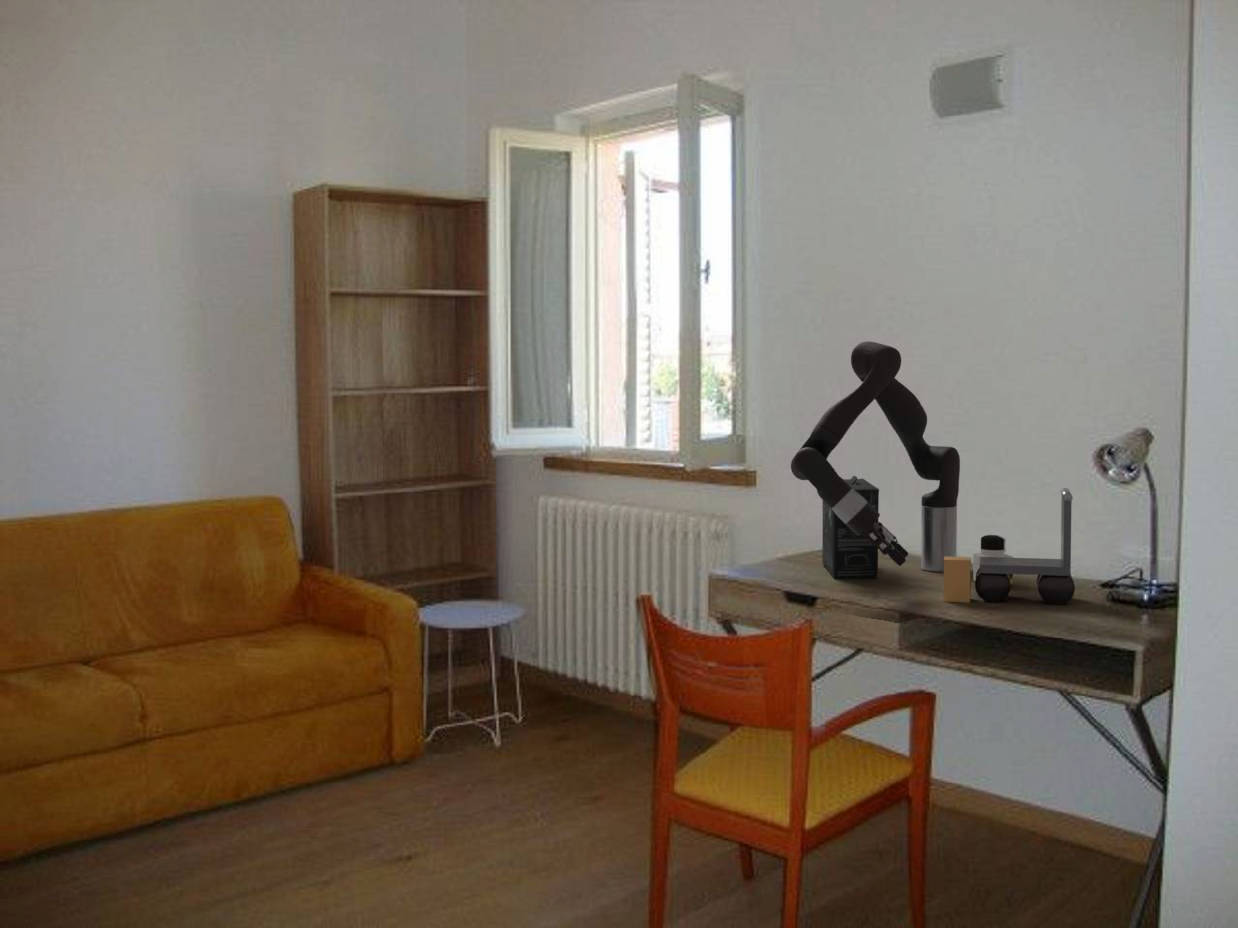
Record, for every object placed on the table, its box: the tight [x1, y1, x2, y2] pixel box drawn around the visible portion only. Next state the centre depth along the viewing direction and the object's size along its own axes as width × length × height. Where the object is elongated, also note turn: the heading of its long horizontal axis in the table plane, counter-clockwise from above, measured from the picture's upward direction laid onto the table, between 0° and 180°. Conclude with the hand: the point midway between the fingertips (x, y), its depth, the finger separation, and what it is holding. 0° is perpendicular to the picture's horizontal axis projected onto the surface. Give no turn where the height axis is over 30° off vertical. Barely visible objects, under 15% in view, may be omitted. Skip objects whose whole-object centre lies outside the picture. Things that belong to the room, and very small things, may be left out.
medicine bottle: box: [972, 534, 1014, 585], centre depth 311 cm, size 7×7×12 cm
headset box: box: [821, 475, 880, 580], centre depth 330 cm, size 22×12×26 cm, turn 179°
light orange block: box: [943, 556, 972, 603], centre depth 291 cm, size 4×6×10 cm
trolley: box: [974, 487, 1076, 606], centre depth 289 cm, size 12×22×26 cm, turn 73°
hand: (904, 560), depth 294 cm, fingers open, 8 cm apart
